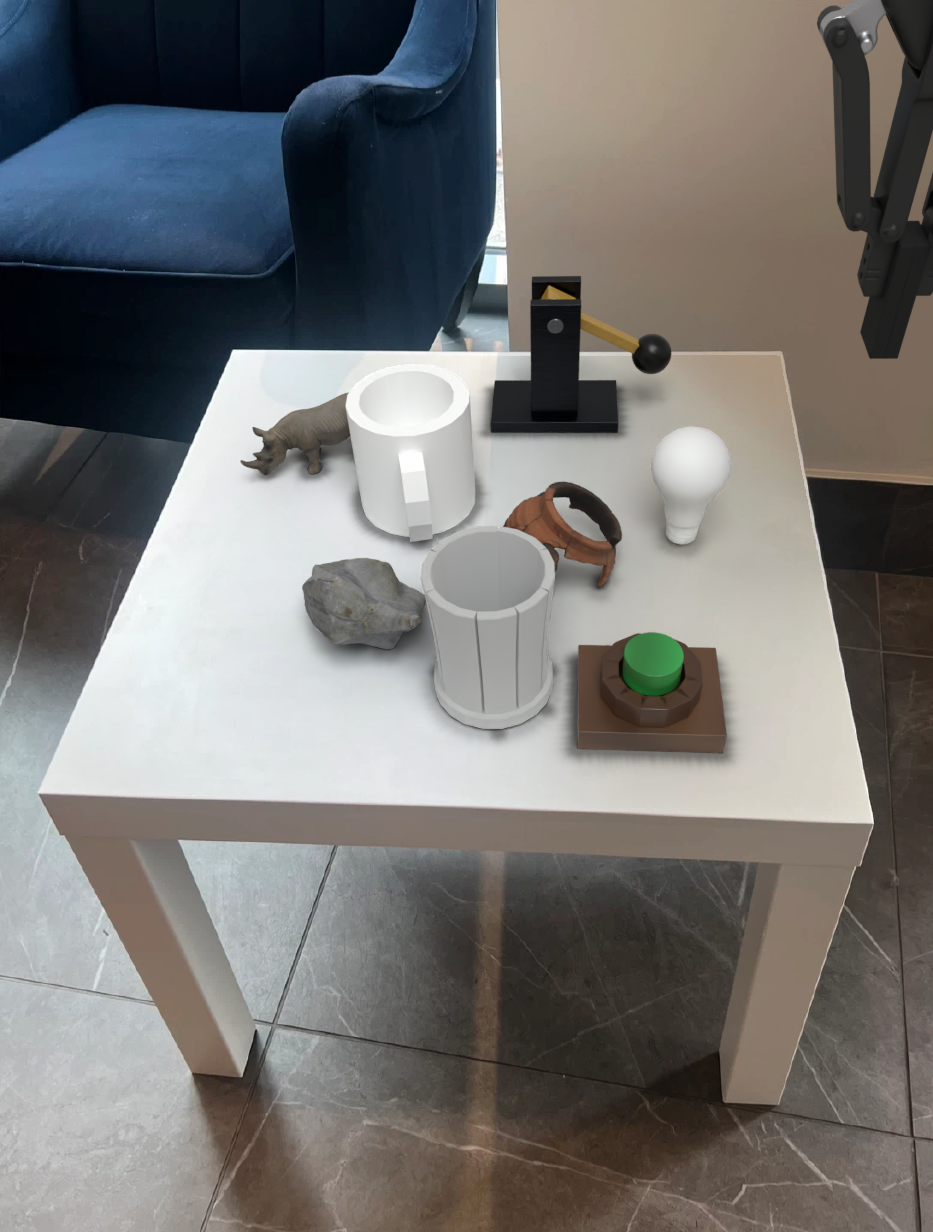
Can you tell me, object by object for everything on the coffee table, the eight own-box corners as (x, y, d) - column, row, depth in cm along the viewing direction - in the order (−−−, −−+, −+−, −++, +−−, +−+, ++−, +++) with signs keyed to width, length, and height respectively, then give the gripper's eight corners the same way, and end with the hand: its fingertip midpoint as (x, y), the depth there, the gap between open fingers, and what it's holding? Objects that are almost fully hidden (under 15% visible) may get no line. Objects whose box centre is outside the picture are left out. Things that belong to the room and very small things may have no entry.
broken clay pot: (505, 525, 87) (554, 456, 82) (592, 590, 87) (647, 525, 82) (451, 590, 78) (502, 516, 73) (548, 663, 78) (607, 594, 73)
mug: (490, 554, 84) (485, 453, 77) (369, 571, 84) (351, 470, 76) (467, 456, 94) (461, 356, 86) (358, 470, 93) (342, 371, 85)
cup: (393, 698, 74) (373, 583, 66) (453, 617, 80) (442, 501, 71) (519, 750, 70) (517, 636, 62) (574, 662, 76) (578, 545, 67)
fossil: (462, 622, 79) (456, 548, 73) (401, 702, 74) (389, 629, 68) (347, 576, 83) (332, 503, 78) (281, 649, 78) (260, 577, 72)
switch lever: (656, 365, 95) (677, 336, 93) (658, 387, 93) (680, 357, 90) (533, 307, 92) (552, 275, 89) (531, 328, 89) (551, 295, 87)
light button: (678, 652, 71) (681, 632, 70) (682, 697, 68) (685, 677, 67) (621, 651, 72) (623, 631, 70) (623, 695, 69) (625, 675, 67)
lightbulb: (665, 507, 87) (677, 401, 79) (730, 533, 85) (750, 426, 76) (630, 548, 84) (639, 442, 76) (696, 576, 81) (713, 469, 73)
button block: (712, 665, 75) (719, 628, 72) (723, 753, 69) (731, 718, 66) (577, 662, 76) (579, 626, 73) (577, 748, 70) (579, 714, 67)
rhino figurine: (239, 474, 94) (224, 421, 89) (373, 427, 97) (365, 374, 93) (254, 498, 91) (239, 445, 87) (391, 449, 95) (383, 395, 90)
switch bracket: (615, 390, 100) (623, 269, 90) (617, 432, 95) (626, 310, 85) (495, 390, 101) (490, 271, 91) (490, 432, 96) (485, 311, 87)
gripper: (874, -165, 37) (767, 384, 54) (1254, -184, 36) (1021, 383, 53) (838, -202, 42) (751, 310, 59) (1169, -219, 41) (981, 308, 58)
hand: (878, 344), depth 56 cm, fingers closed
